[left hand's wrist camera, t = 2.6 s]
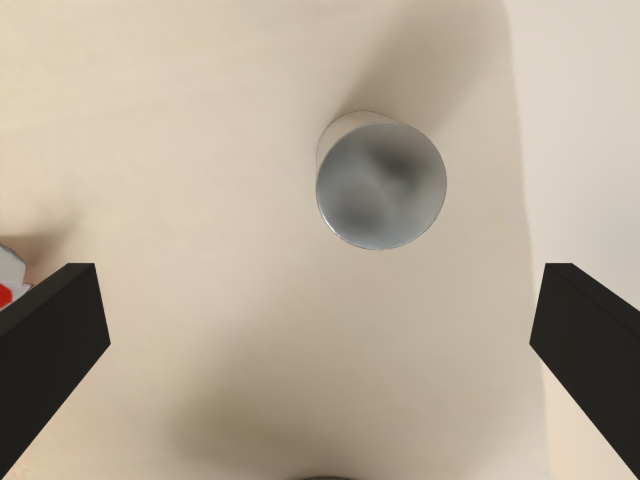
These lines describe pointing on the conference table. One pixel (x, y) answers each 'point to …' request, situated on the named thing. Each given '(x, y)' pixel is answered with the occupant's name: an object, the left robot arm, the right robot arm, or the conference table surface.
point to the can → (378, 181)
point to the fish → (11, 277)
